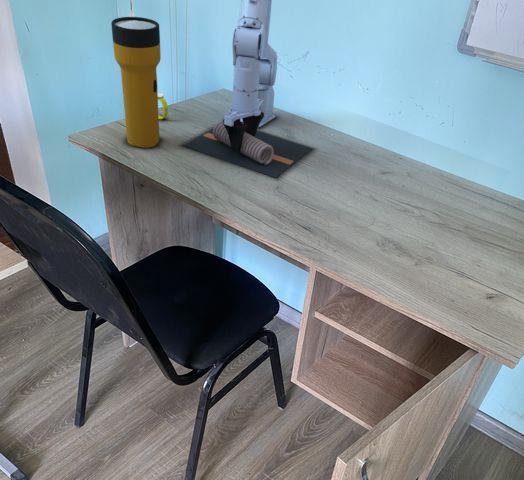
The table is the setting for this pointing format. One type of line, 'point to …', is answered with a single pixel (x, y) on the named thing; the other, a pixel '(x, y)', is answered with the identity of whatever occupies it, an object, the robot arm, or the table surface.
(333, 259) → the table surface
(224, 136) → the coil
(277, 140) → the mat
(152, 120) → the flashlight
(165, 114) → the watch
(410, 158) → the table surface
